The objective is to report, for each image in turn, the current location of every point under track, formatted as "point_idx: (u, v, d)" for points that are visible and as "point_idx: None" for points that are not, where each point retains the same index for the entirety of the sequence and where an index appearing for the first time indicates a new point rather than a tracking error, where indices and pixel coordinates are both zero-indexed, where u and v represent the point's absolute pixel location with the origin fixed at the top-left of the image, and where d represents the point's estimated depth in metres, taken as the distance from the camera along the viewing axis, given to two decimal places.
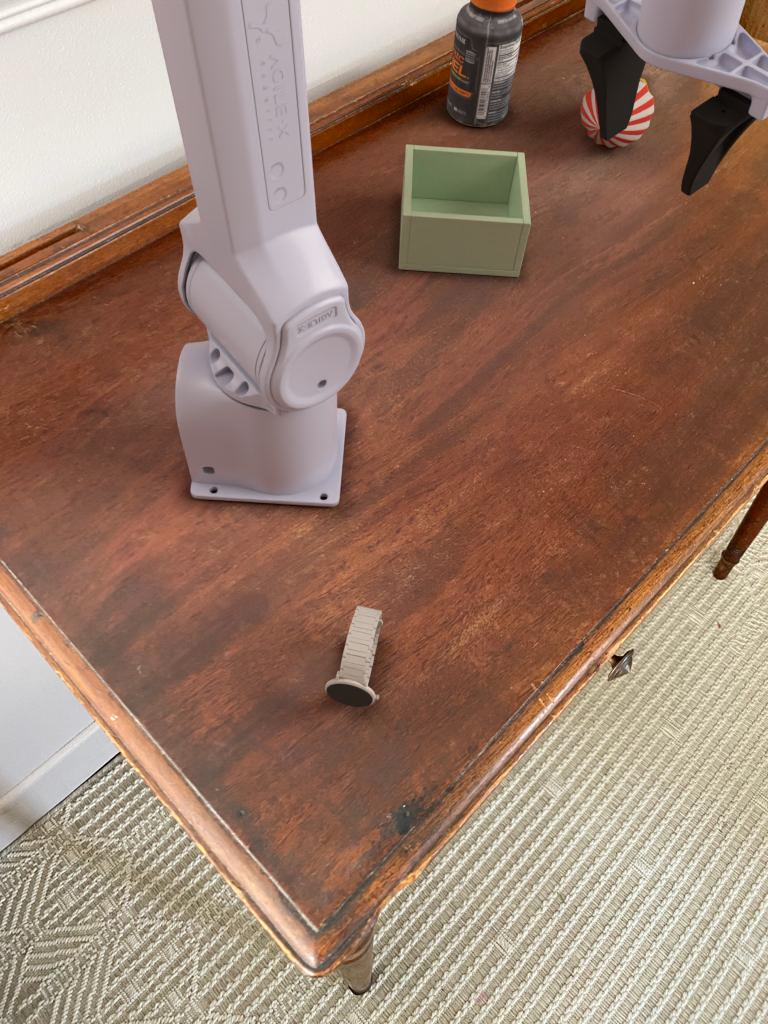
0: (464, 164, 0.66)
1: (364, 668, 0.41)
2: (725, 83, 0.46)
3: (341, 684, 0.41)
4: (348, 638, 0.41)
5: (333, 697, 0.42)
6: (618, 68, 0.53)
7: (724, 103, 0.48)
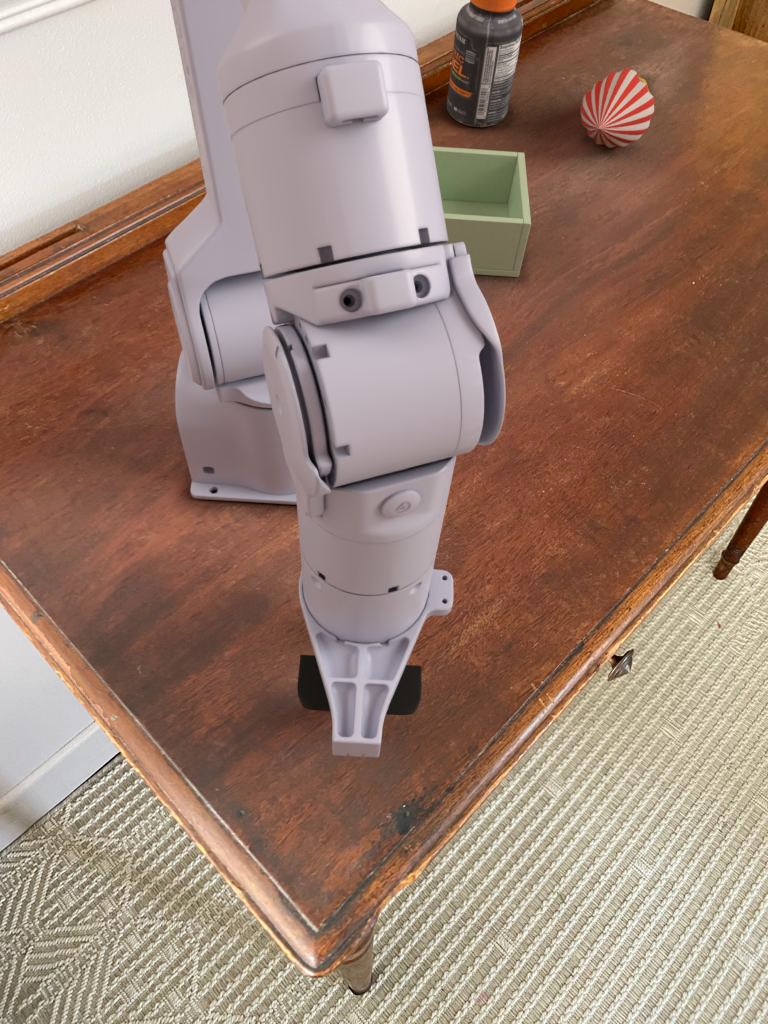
0: (464, 164, 0.66)
1: None
2: (323, 683, 0.34)
3: None
4: None
5: None
6: None
7: None
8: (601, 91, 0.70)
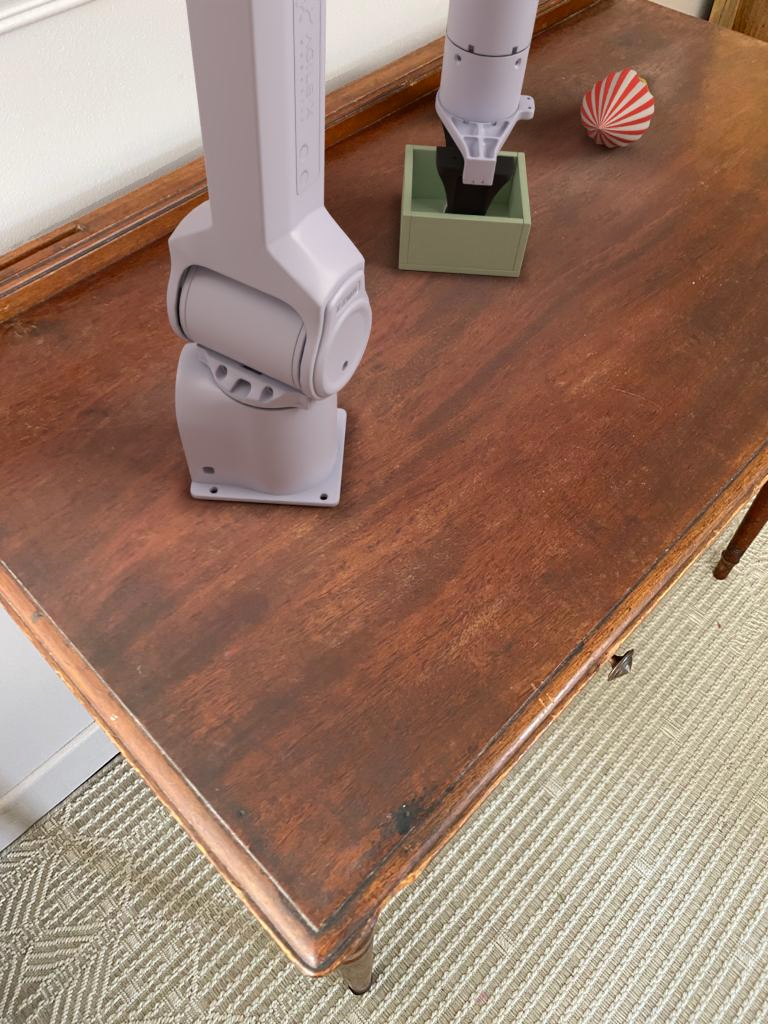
0: None
1: None
2: (456, 142, 0.55)
3: None
4: None
5: None
6: None
7: (461, 155, 0.57)
8: (601, 91, 0.70)
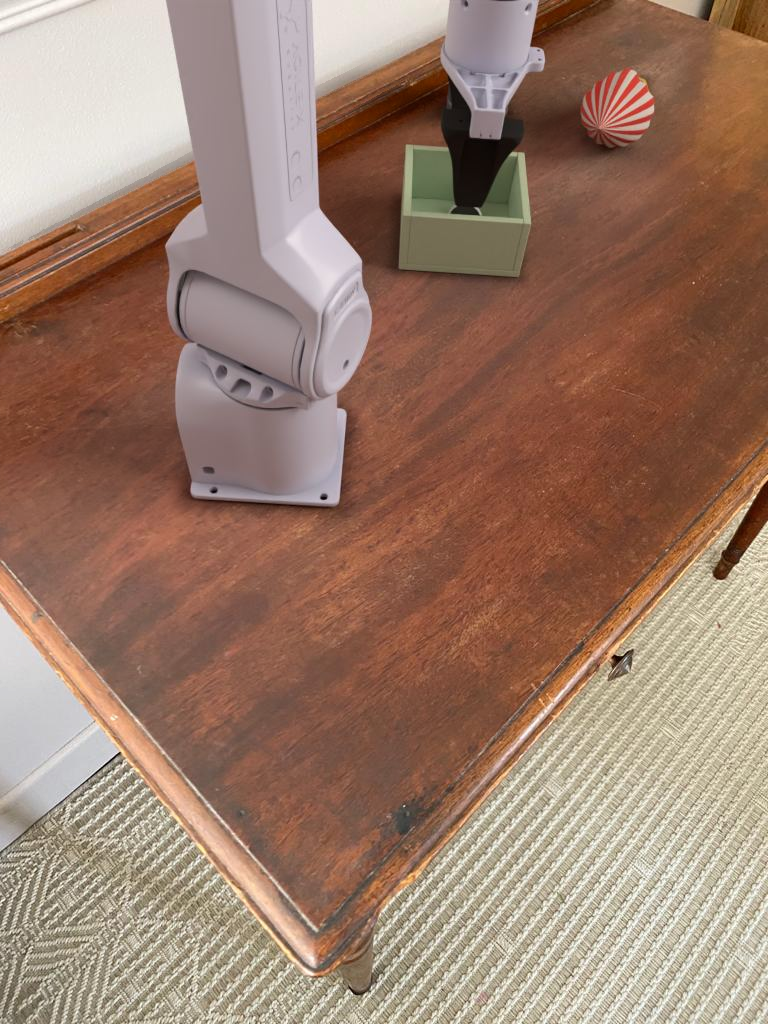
0: None
1: None
2: (463, 94, 0.52)
3: None
4: None
5: None
6: None
7: (468, 117, 0.53)
8: (601, 91, 0.70)
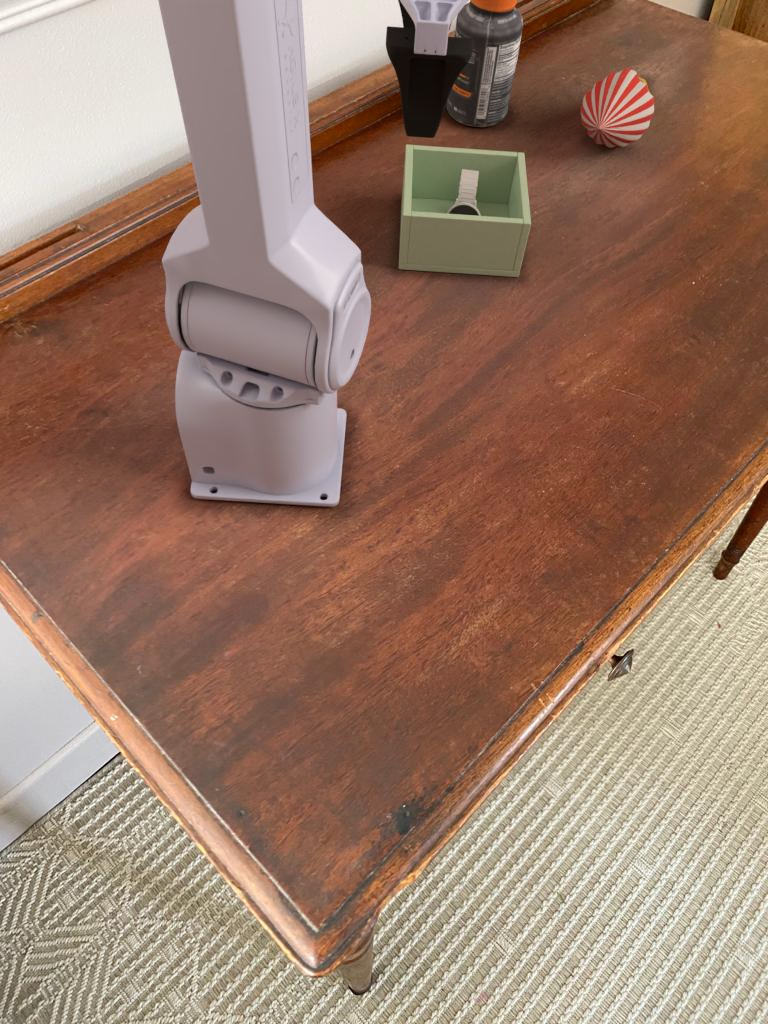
0: (464, 164, 0.66)
1: (474, 192, 0.62)
2: (407, 8, 0.50)
3: (459, 206, 0.62)
4: (462, 176, 0.62)
5: None
6: None
7: (414, 35, 0.51)
8: (601, 91, 0.70)
